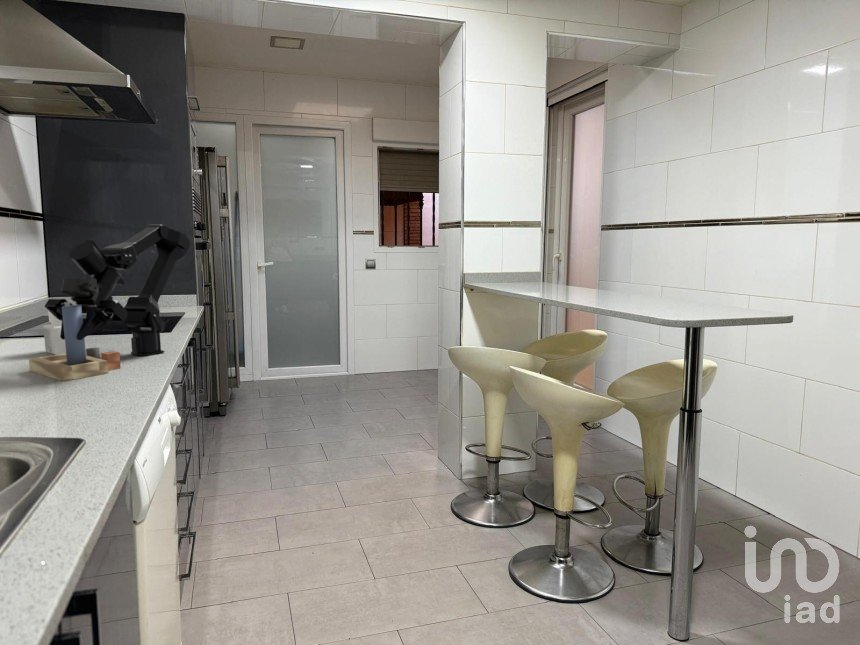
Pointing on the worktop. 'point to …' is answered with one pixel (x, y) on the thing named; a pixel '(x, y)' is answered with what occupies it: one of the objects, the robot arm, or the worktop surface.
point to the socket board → (61, 371)
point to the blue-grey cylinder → (73, 335)
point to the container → (54, 336)
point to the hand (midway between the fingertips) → (70, 338)
